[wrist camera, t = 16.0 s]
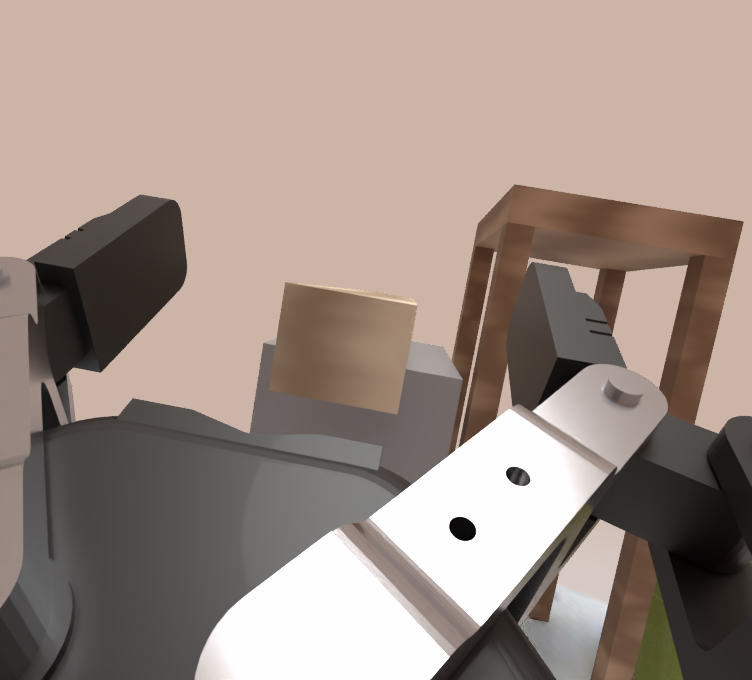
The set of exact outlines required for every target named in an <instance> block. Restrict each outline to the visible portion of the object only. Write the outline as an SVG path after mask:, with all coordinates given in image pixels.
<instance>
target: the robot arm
mask: <svg viewBox="0 0 752 680" xmlns="http://www.w3.org/2000/svg"><path fill="white" fill-rule="evenodd" d="M186 273H187V261H186V252H185V244H184V234H183V226H182V217H181V211H180V208H179V205H178V203H177V202H176V201H174V200H169V199H164V198H158V197H152V196H146V195H139V196H137V197H135V198H134V199H132V200H130V201H129V202H127V203H126V204H124V205H123V206H121V207H119V208H118V209H116V210H115V211H113V212H111V213H110V214H107V215H104V216H100V217H97V218H94V219H92V220H91V221H89V222H87V223H86V224H84V225H82V226H81V227H79V228H78V231H76V230H74V231H73V232H71V233H69V234H68V235H67V236H65V239H60V240H58V241H56V242H55V243H53V244H52V245H50V246H48V247H47V248H45V249H43V250H42V251H40V252H39V253H37V254H35V255H34V256H33V257H31V258H29V259H27V260H23V259H19V258H13V257H0V680H556V679H555V677H554V676H553V674H552V673H551V671H550V670H549V668H548V667H547V665H546V664H545V663H544V661H543V660H542V658H541V657H540V655H539V654H538V652H537V651H536V649H535V648H534V647H533V645H532V644H531V642H530V641H529V639H528V638H527V636H526V635H525V633H524V632H523V631H522V629H521V628H520V626H521V625H522V623H523V622H524V621H525V619H526V618H527V617H528V615H529V614H530V612H531V611H532V609H533V608H534V607H535V605H536V604H537V602H538V601H539V599H540V598H541V596H542V595H543V593H544V592H545V591H546V589H547V588H548V586H549V585H550V584H551V582H552V581H553V580H554V578H555V577H556V576H557V575H558V573H559V572H560V571H561V569H562V568H563V567H564V566H565V564H566V563H567V562H568V560H569V559H570V558H571V557H572V555H573V554H574V552H575V551H576V550H577V549H578V548H579V546H580V545H581V544H582V542H583V541H584V540H585V538H586V537H587V536H588V535H589V533H590V532H591V531H592V530H593V528H594V527H595V526H596V524H597V523H598V522H599V520H600V519H601V520H604V521H606V522H608V523H610V524H612V525H614V526H616V527H618V528H621V529H623V530H625V531H627V532H629V533H631V534H633V535H635V536H637V537H640V538H642V539H644V540H646V541H648V546H649V550H650V554H651V558H652V562H653V565H654V569H655V573H656V577H657V581H658V585H659V588H660V592H661V596H662V600H663V604H664V607H665V611H666V615H667V619H668V623H669V627H670V630H671V634H672V638H673V642H674V646H675V650H676V653H677V657H678V661H679V665H680V669H681V672H682V676H683V680H752V566H751V564H750V562H751V561H752V417H751V416H738V417H734V418H731V419H730V420H728V421H727V423H726V424H725V426H724V427H723V428H722V430H721V431H720V432H719V434H717V433H715V432H712V431H709V430H707V429H704V428H701V427H699V426H696V425H694V424H691V423H689V422H686V421H683V420H681V419H679V418H676V417H674V416H672V415H670V414H668V413H667V411H668V403H667V400H666V398H665V396H664V395H663V393H662V392H661V391H660V390H659V389H658V387H656V386H655V385H654V384H653V383H652V382H650V381H649V380H648V379H646V378H645V377H643V376H641V375H639V374H637V373H635V372H633V371H631V370H628V369H627V367H626V365H625V362H624V360H623V358H622V356H621V353H620V351H619V348H618V346H617V344H616V341H615V339H614V337H612V332H611V329H610V327H609V325H607V320H606V318H605V315H604V313H603V310H602V308H601V307H600V306H599V305H598V304H597V303H596V302H595V301H594V300H593V299H592V298H590V297H589V296H588V295H587V294H586V293H580V292H576V291H575V289H574V286H573V283H572V280H571V278H570V275H569V272H568V269H567V268H564V267H558V266H553V265H547V264H540V263H535V262H532V263H531V264H530V265H529V267H528V269H527V272H526V274H525V277H524V281H523V284H522V287H521V290H520V293H519V296H518V299H517V302H516V305H515V308H514V311H513V314H512V317H511V320H510V324H509V328H508V333H507V339H506V352H507V361H508V370H509V379H510V388H511V397H512V406H513V407H512V408H510V409H509V410H508V411H507V412H505V413H504V414H503V415H501V416H500V417H499V418H497V419H496V420H495V421H494V422H492V423H491V424H490V425H488V426H487V427H486V428H485V429H483V430H482V431H481V432H479V433H478V434H477V435H476V436H474V437H473V438H472V439H470V440H469V441H468V442H467V443H465V444H464V445H463V446H462V447H460V448H459V449H458V450H456V451H455V452H454V453H453V454H451V455H450V456H449V457H447V458H446V459H445V460H444V461H442V462H441V463H440V464H438V465H437V466H436V467H435V468H433V469H432V470H431V471H429V472H428V473H427V474H426V475H424V476H423V477H422V478H420V479H419V480H418V481H417V482H415V483H414V484H411V483H410V482H408V481H407V480H406V479H404V478H403V477H401V476H399V475H397V474H395V473H394V472H392V471H390V470H388V469H386V468H383V467H381V466H379V463H380V457H381V452H382V446H378V445H373V444H367V443H362V442H357V441H352V440H347V439H341V438H336V437H331V436H326V435H321V434H285V435H256V434H248V433H245V432H243V431H240V430H238V429H236V428H233V427H231V426H229V425H226V424H224V423H222V422H220V421H217V420H215V419H213V418H210V417H208V416H206V415H203V414H201V413H199V412H196V411H194V410H191V409H185V408H180V407H175V406H170V405H165V404H160V403H154V402H149V401H144V400H139V399H134V398H133V399H132V400H131V401H130V403H129V404H128V405H127V406H126V407H125V409H124V410H123V411H122V412H121V414H120V415H119V416H110V417H99V418H92V419H86V420H80V421H76V420H75V411H74V404H73V403H74V402H73V394H72V386H71V382H70V379H69V376H68V372H69V371H70V370H71V369H72V368H73V367H74V368H79V369H85V370H90V371H95V372H102V371H103V369H105V368H106V367H107V366H108V364H109V363H110V362H111V361H112V360H113V359H114V358H115V357H116V356H117V355H118V354H119V353H120V352H121V351H122V350H123V349H124V348H125V347H126V345H127V344H128V343H129V342H130V341H131V340H132V339H133V338H134V337H135V336H136V335H137V334H138V333H139V332H140V331H141V329H143V328H144V327H145V326H146V325H147V323H148V322H149V321H150V320H151V319H152V318H153V317H154V316H155V315H156V314H157V313H158V312H159V311H160V310H161V309H162V308H163V307H164V306H165V305H166V304H167V302H168V301H169V300H170V299H171V298H172V297H173V296H174V295H175V294H176V293H177V292H178V291H179V290H180V289H181V287H182V285H183V283H184V281H185V277H186Z"/></svg>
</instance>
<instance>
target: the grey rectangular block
mask: <svg viewBox="0 0 752 680" xmlns="http://www.w3.org/2000/svg"><path fill="white" fill-rule="evenodd" d="M276 340H277V339H275V340H272V341H268V342H266V343H264V344H263V350H262V357H261V363H260V370H259V377H258V383H257V389H256V396H255V402H254V409H253V415H252V422H251V428H250V434H256V435H285V434H321V435H326V436H331V437H336V438H341V439H347V440H352V441H357V442H362V443H367V444H373V445H378V446H382V452H381V457H380V463H379V466H381V467H383V468H386V469H388V470H390V471H392V472H394V473H395V474H397V475H399V476H401V477H403V478H404V479H406V480H407V481H408V482H410V483H411V484H414V483H415V482H417V481H418V480H419V479H420V478H422V477H423V476H424V475H426V474H427V473H428V472H429V471H431V470H432V469H433V468H435V467H436V466H437V465H438V464H440V463H441V462H442V461H444V460H445V459H446V458H447V457H448V454H449V449H450V443H451V438H452V433H453V428H454V423H455V418H456V413H457V407H458V402H459V397H460V392H461V387H462V382H463V379H462V377H461V376H460V374H459V372H458V371H457V369H456V368H455V366H454V364H453V363H452V361H451V359H450V358H449V356H448V354H447V353H446V351H445V350H444V348H443V347H440V346H434V345H429V344H423V343H418V342H412V341H411V343H410V349H409V354H408V360H407V365H406V371H405V376H404V382H403V387H402V393H401V398H400V403H399V409H398V414H392V413H386V412H381V411H376V410H370V409H365V408H360V407H354V406H349V405H344V404H338V403H333V402H328V401H323V400H317V399H312V398H307V397H301V396H296V395H291V394H285V393H280V392H275V391H269V385H270V378H271V372H272V365H273V359H274V353H275V346H276Z"/></svg>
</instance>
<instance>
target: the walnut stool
mask: <svg viewBox="0 0 752 680" xmlns="http://www.w3.org/2000/svg"><path fill="white" fill-rule="evenodd" d="M743 223H744V222H743V221H736V220H731V219H725V218H719V217H712V216H706V215H700V214H694V213H687V212H681V211H675V210H669V209H663V208H657V207H651V206H644V205H638V204H632V203H626V202H620V201H614V200H607V199H601V198H595V197H589V196H583V195H576V194H570V193H564V192H558V191H552V190H545V189H539V188H533V187H527V186H521V185H514V186H513V187H512V188H511V189H510V190H509V191H508V192H507V193H506V195H504V197H503V198H502V199H501V200H500V201H499V202H498V203H497V204H496V205H495V206H494V207H493V208H492V209H491V211H490V212H489V213H488V214H487V215H486V216H485V217H484V218H483V219H482V220H481V221H480V222H479V223H478V227H477V232H476V237H475V242H474V248H473V253H472V258H471V263H470V268H469V273H468V279H467V284H466V289H465V294H464V300H463V305H462V310H461V315H460V320H459V326H458V332H457V337H456V341H455V347H454V352H453V357H452V363H453V364H454V366H455V368H456V369H457V371H458V372H459V374H460V376H461V377H462V379H463V382H462V387H461V392H460V397H459V402H458V407H457V413H456V418H455V423H454V428H453V433H452V438H451V443H450V449H449V454H448V457H449V456H450V455H451V454H453V453H454V452H455V447H456V442H457V437H458V431H459V427H460V421H461V416H462V411H463V406H464V401H465V396H466V391H467V386H468V381H469V376H470V370H471V365H472V360H473V355H474V350H475V345H476V340H477V334H478V329H479V324H480V319H481V314H482V309H483V304H484V299H485V294H486V289H487V283H488V278H489V273H490V268H491V263H492V258H493V253H494V251H495V252H497V255H496V261H495V266H494V271H493V276H492V281H491V286H490V292H489V296H488V302H487V307H486V311H485V317H484V322H483V327H482V332H481V337H480V343H479V347H478V353H477V357H476V363H475V367H474V373H473V378H472V383H471V388H470V393H469V398H468V403H467V408H466V413H465V418H464V423H463V429H462V434H461V439H460V444H459V448H460V447H462V446H463V445H464V444H465V443H467V442H468V441H469V440H470V439H472V438H473V437H474V436H476V435H477V434H478V433H479V432H481V431H482V430H483V429H485V428H486V427H487V426H488V425H490V424H491V423H492V422H494V421H495V420H496V416H497V412H498V406H499V402H500V397H501V392H502V387H503V382H504V377H505V373H506V367H507V363H508V361H507V352H506V339H507V333H508V328H509V324H510V320H511V317H512V314H513V311H514V308H515V305H516V302H517V299H518V296H519V293H520V290H521V287H522V284H523V281H524V277H525V274H526V269H527V264H528V259H529V257H530V258H536V259H542V260H548V261H554V262H560V263H566V264H571V265H578V266H583V267H590V268H595V269H600V272H599V277H598V281H597V286H596V290H595V295H594V299H593V300H594V301H595V302H596V303H597V304H598V305H599V306H600V307H601V308H602V310H603V313H604V315H605V318H606V320H607V325H609V327H610V329H611V332H612V333H613V328H614V323H615V318H616V315H617V310H618V306H619V301H620V297H621V292H622V288H623V283H624V279H625V274H626V271H636V270H644V269H654V268H663V267H673V266H682V265H688V268H687V272H686V276H685V280H684V284H683V289H682V293H681V297H680V301H679V306H678V310H677V314H676V319H675V323H674V327H673V332H672V335H671V340H670V344H669V348H668V353H667V357H666V361H665V365H664V370H663V374H662V378H661V382H660V387H659V390H660V391H661V392H662V393H663V395H664V396H665V398H666V400H667V403H668V411H667V413H668V414H670V415H672V416H674V417H676V418H679V419H681V420H683V421H686V422H689V423H691V424H695V420H696V416H697V411H698V407H699V403H700V399H701V394H702V391H703V387H704V382H705V378H706V374H707V370H708V366H709V362H710V358H711V354H712V350H713V346H714V342H715V338H716V333H717V329H718V325H719V321H720V317H721V313H722V309H723V305H724V301H725V297H726V292H727V288H728V284H729V280H730V276H731V272H732V268H733V264H734V259H735V255H736V251H737V247H738V243H739V239H740V235H741V231H742V226H743ZM558 575H559V573H558ZM558 575H557V576H556V577H555V578H554V580H553V581H552V582H551V584H550V585H549V586H548V588H547V589H546V591H545V592H544V593H543V595H542V596H541V598H540V599H539V601H538V602H537V604H536V605H535V607H534V608H533V609H532V611H531V612H530V614H529V615H530V618H532V619H537V620H542V621H547V622H548V620H549V615H550V611H551V606H552V602H553V598H554V593H555V589H556V584H557V580H558ZM656 580H657V577H656V573H655V569H654V565H653V562H652V558H651V554H650V550H649V546H648V541H646V540H644V539H642V538H640V537H637V536H635V535H633V534H631V533H629V532H627V531H626V532H625V536H624V540H623V544H622V549H621V553H620V557H619V562H618V566H617V570H616V574H615V578H614V583H613V587H612V591H611V595H610V600H609V604H608V608H607V612H606V617H605V621H604V625H603V629H602V634H601V638H600V642H599V646H598V651H597V655H596V659H595V663H594V668H593V672H592V676H591V680H632V678H633V674H634V670H635V666H636V662H637V658H638V654H639V649H640V645H641V641H642V637H643V633H644V629H645V625H646V621H647V617H648V613H649V608H650V604H651V600H652V596H653V592H654V588H655V584H656Z"/></svg>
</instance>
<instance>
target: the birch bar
mask: <svg viewBox="0 0 752 680" xmlns="http://www.w3.org/2000/svg"><path fill="white" fill-rule="evenodd" d="M416 310H417V304H416V303H415V301H414V299H411V298H406V297H400V296H394V295H388V294H382V293H377V292H372V291H366V290H356V289H347V288H336V287H326V286H317V285H307V284H296V283H288V282H286V283H285V289H284V295H283V301H282V308H281V315H280V320H279V327H278V333H277V340H276V346H275V353H274V359H273V365H272V372H271V378H270V385H269V391H275V392H280V393H285V394H291V395H296V396H301V397H307V398H312V399H317V400H323V401H328V402H333V403H338V404H344V405H349V406H354V407H360V408H365V409H370V410H376V411H381V412H386V413H392V414H398V409H399V403H400V398H401V393H402V387H403V382H404V376H405V371H406V365H407V360H408V354H409V349H410V343H411V338H412V332H413V327H414V321H415V315H416Z"/></svg>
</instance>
